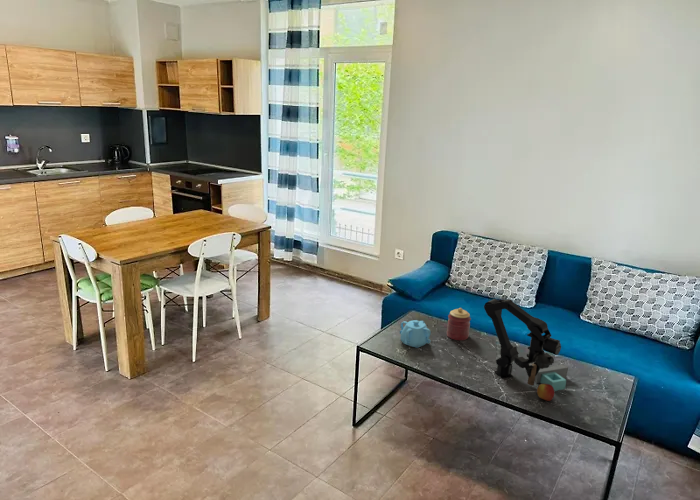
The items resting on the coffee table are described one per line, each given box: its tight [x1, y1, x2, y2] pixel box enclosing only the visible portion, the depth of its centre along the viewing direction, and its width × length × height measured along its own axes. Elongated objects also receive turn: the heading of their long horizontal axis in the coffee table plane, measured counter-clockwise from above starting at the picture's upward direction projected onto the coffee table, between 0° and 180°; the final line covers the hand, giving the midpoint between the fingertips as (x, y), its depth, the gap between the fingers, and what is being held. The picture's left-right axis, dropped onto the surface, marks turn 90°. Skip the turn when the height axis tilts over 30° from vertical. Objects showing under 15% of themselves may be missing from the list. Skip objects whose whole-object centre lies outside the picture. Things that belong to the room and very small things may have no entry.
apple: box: [536, 383, 555, 402], centre depth 227 cm, size 8×8×8 cm
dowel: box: [527, 363, 537, 386], centre depth 237 cm, size 3×3×10 cm
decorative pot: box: [399, 319, 432, 349], centre depth 277 cm, size 16×16×14 cm
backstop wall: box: [534, 364, 569, 384], centre depth 245 cm, size 18×3×6 cm, turn 109°
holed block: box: [539, 372, 567, 392], centre depth 240 cm, size 8×8×5 cm
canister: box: [446, 307, 472, 341], centre depth 287 cm, size 13×13×18 cm
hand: (531, 376), depth 237 cm, fingers closed on dowel, 3 cm apart
